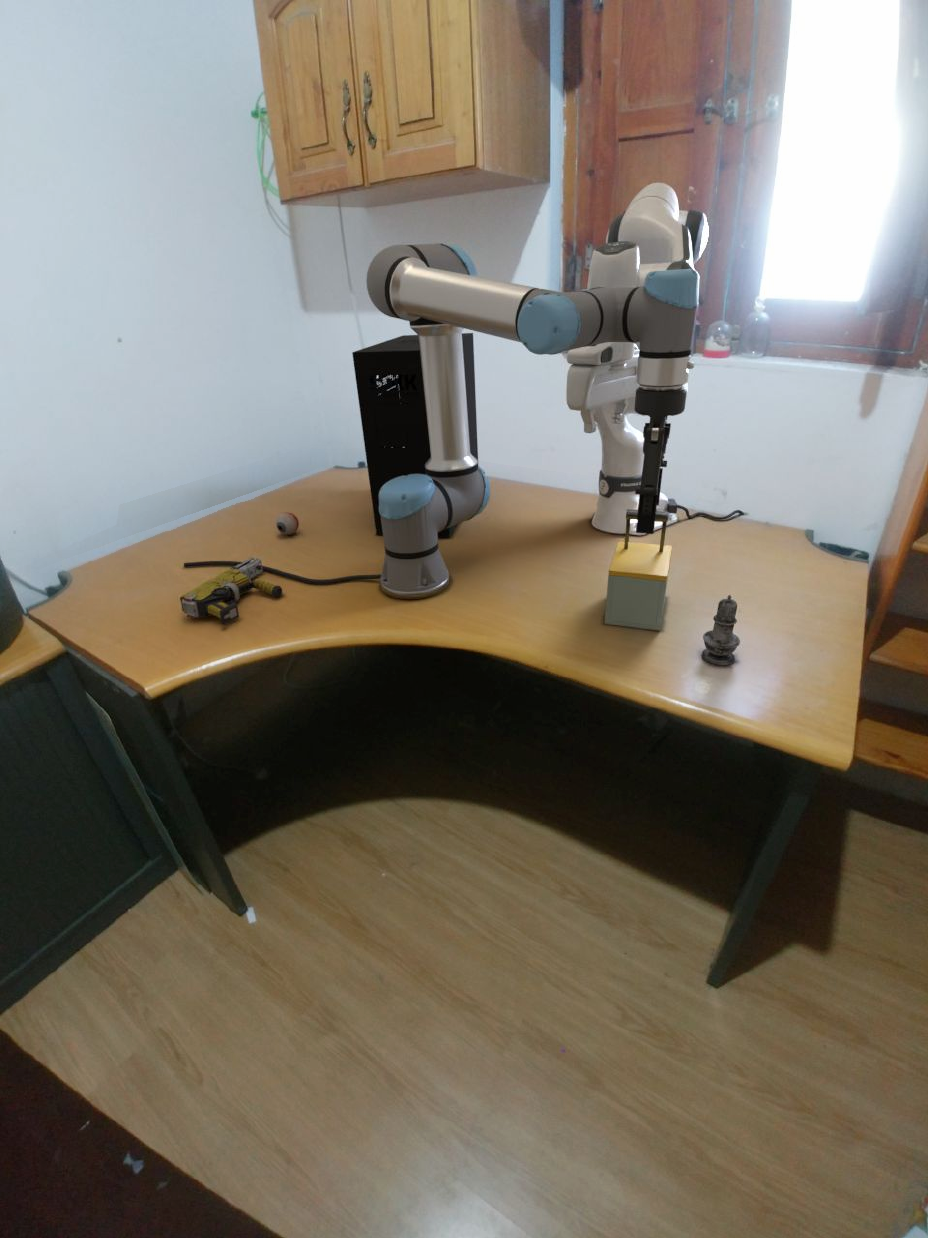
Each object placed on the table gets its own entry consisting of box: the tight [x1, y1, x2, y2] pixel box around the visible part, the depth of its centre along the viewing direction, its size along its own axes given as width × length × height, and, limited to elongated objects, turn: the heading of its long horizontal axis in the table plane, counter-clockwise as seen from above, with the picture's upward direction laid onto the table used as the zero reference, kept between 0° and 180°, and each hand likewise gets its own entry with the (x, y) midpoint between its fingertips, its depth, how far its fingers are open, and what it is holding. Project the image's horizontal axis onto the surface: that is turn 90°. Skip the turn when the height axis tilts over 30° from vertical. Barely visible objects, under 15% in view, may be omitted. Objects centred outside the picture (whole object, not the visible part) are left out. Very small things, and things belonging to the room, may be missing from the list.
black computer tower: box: [351, 332, 479, 539], centre depth 164 cm, size 38×20×45 cm, turn 167°
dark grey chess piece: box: [701, 594, 741, 666], centre depth 101 cm, size 6×6×12 cm
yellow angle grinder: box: [179, 556, 283, 625], centre depth 132 cm, size 5×24×15 cm
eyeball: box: [275, 511, 300, 536], centre depth 163 cm, size 6×6×6 cm
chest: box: [604, 557, 671, 631], centre depth 117 cm, size 14×10×10 cm
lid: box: [607, 509, 673, 582], centre depth 112 cm, size 14×10×9 cm
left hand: (647, 517), depth 103 cm, fingers open, 13 cm apart
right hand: (603, 427), depth 114 cm, fingers open, 8 cm apart
